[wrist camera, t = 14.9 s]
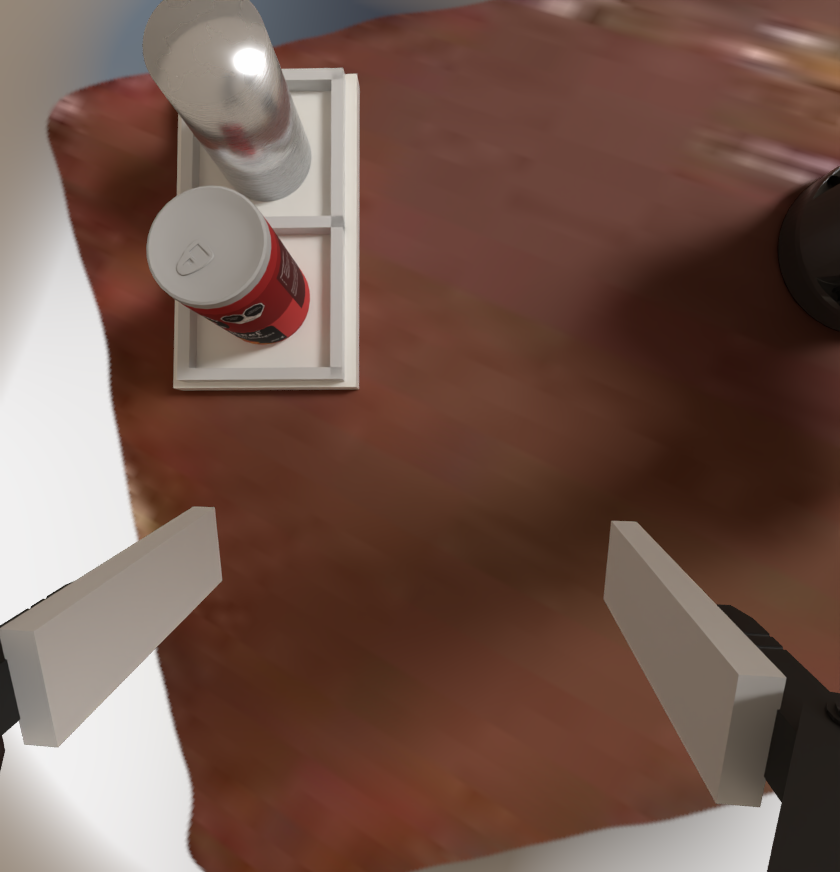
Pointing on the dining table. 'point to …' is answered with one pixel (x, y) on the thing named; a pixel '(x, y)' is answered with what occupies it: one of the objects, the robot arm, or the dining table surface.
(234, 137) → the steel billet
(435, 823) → the dining table surface
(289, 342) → the divided white tray
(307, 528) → the dining table surface
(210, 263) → the canned food
